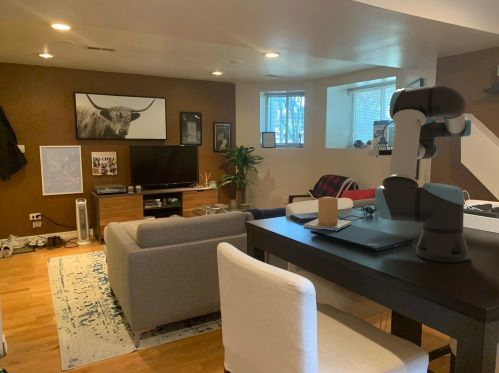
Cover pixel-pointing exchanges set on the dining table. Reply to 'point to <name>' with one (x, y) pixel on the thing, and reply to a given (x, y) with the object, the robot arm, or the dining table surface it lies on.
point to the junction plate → (317, 225)
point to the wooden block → (328, 210)
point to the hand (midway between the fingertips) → (380, 153)
